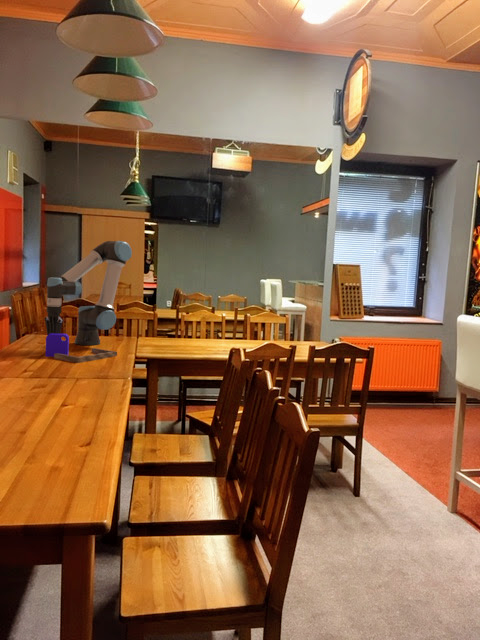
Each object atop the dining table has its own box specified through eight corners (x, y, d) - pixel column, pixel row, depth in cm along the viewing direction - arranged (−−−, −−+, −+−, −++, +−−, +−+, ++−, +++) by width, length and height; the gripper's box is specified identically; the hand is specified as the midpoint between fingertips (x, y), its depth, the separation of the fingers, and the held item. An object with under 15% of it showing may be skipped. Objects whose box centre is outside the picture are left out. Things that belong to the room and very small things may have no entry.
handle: (94, 352, 289) (94, 348, 289) (116, 356, 281) (117, 351, 281) (54, 358, 265) (54, 353, 264) (78, 362, 257) (78, 357, 256)
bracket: (67, 357, 271) (68, 334, 270) (45, 356, 269) (46, 334, 268) (71, 351, 289) (71, 330, 288) (50, 351, 286) (51, 330, 285)
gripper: (40, 305, 281) (39, 347, 283) (56, 307, 275) (55, 350, 277) (51, 304, 288) (50, 346, 290) (67, 306, 281) (66, 349, 283)
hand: (53, 348), depth 283 cm, fingers closed
